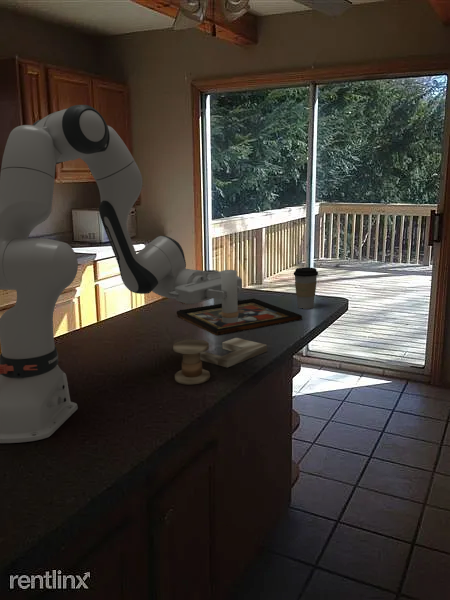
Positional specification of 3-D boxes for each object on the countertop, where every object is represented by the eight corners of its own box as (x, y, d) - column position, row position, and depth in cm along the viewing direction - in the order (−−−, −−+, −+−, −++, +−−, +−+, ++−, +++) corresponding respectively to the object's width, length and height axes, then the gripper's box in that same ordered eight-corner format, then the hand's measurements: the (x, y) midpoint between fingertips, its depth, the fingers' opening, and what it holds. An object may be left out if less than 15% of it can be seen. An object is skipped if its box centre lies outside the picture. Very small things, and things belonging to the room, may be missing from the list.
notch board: (267, 351, 160) (266, 344, 160) (227, 367, 148) (227, 360, 147) (236, 343, 168) (236, 337, 168) (195, 358, 156) (195, 352, 155)
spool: (210, 383, 137) (208, 349, 135) (173, 385, 136) (172, 350, 134) (209, 371, 145) (208, 338, 143) (175, 372, 145) (174, 340, 143)
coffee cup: (291, 309, 208) (291, 270, 205) (295, 304, 217) (295, 266, 214) (316, 310, 205) (316, 271, 202) (319, 305, 214) (320, 267, 211)
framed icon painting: (224, 340, 174) (224, 331, 174) (168, 319, 202) (167, 311, 201) (309, 319, 196) (309, 311, 195) (248, 302, 224) (248, 296, 223)
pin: (239, 322, 139) (237, 272, 136) (222, 323, 139) (220, 273, 136) (238, 318, 143) (236, 269, 140) (221, 319, 143) (219, 270, 140)
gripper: (164, 281, 139) (203, 288, 130) (218, 268, 154) (256, 274, 145) (165, 305, 141) (204, 313, 132) (219, 290, 155) (257, 297, 146)
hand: (232, 292), depth 138 cm, fingers closed on pin, 4 cm apart
